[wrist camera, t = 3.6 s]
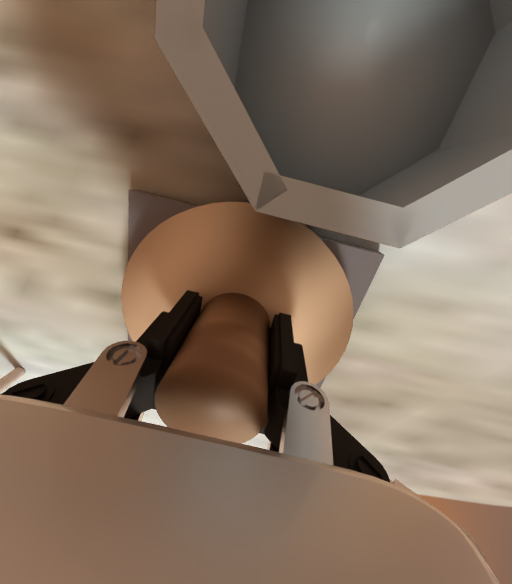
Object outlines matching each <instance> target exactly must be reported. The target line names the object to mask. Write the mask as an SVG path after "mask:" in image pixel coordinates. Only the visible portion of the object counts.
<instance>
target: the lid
mask: <svg viewBox="0 0 512 584" xmlns="http://www.w3.org/2000/svg"><path fill="white" fill-rule="evenodd" d="M187 290H190V291H194V292H198V293H199V296H202V305H201V311H200V314H199V316H198V317H197V319H196V321H195V323H194V324H193V326H192V328H191V330H190V331H189V333H188V335H187V337H186V338H185V340H184V342H183V344H182V345H181V347H180V349H179V351H178V352H177V354H176V356H175V358H174V359H173V361H172V363H171V365H170V366H169V368H168V370H167V371H166V373H165V375H164V377H163V378H162V380H161V382H160V384H159V385H158V387H157V390H156V392H155V407H156V410H157V413H158V415H159V416H160V418H161V419H162V421H163V422H164V423H165V424H166V425H167V427H169V428H173V429H178V430H182V431H187V432H191V433H196V434H200V435H205V436H209V437H213V438H218V439H222V440H227V441H231V442H236V443H240V444H241V443H244V442H246V441H248V440H250V439H252V438H253V437H255V436H256V435H257V434H258V433H259V432H260V431H261V430H262V428H263V427H264V425H265V423H266V419H267V404H268V373H269V345H270V328H271V325H272V321H273V318H274V315H275V314H276V315H279V313H284V314H288V315H291V320H292V328H293V337H294V343H298V344H301V345H302V347H303V352H304V358H305V364H306V370H307V376H308V382H309V383H312V384H314V385H316V384H317V383H319V382H320V381H321V380H322V379H323V378H325V377H326V376H327V375H328V374H329V373H330V372H331V370H332V369H333V368H334V367H335V365H336V364H337V363H338V361H339V360H340V358H341V356H342V355H343V353H344V351H345V349H346V346H347V344H348V342H349V339H350V335H351V331H352V326H353V314H354V312H353V299H352V294H351V290H350V286H349V283H348V280H347V278H346V276H345V273H344V271H343V269H342V267H341V265H340V264H339V262H338V260H337V259H336V257H335V256H334V254H333V253H332V252H331V251H330V249H329V248H328V247H327V246H326V245H325V243H324V242H323V241H322V240H321V238H319V237H318V236H317V235H316V234H315V233H314V232H313V231H312V230H311V229H310V228H309V227H307V226H306V225H304V224H303V223H299V222H295V221H291V220H287V219H284V218H280V217H276V216H272V215H268V214H264V213H260V212H256V211H255V210H254V208H253V207H252V205H251V203H249V202H235V201H227V202H216V203H210V204H206V205H202V206H198V207H195V208H191V209H189V210H186V211H184V212H181V213H179V214H177V215H174V216H172V217H171V218H169V219H167V220H166V221H164V222H162V223H161V224H159V225H158V226H157V227H156V228H155V229H153V230H152V231H151V232H150V233H149V234H148V235H147V236H146V237H145V238H144V239H143V240H142V242H141V243H140V244H139V245H138V246H137V248H136V250H135V251H134V253H133V255H132V256H131V258H130V260H129V263H128V265H127V268H126V270H125V274H124V279H123V283H122V295H121V300H122V311H123V316H124V320H125V324H126V327H127V329H128V332H129V335H130V337H131V339H132V341H135V342H136V341H137V340H138V339H139V337H140V336H141V335H142V334H143V333H144V332H145V330H146V329H147V328H148V327H149V326H150V325H151V324H152V322H153V321H154V320H155V319H156V318H157V317H158V316H159V314H160V313H161V312H163V311H165V312H170V311H171V309H172V308H173V307H174V306H175V305H176V303H177V302H178V301H179V300H180V298H181V297H182V296H183V295H184V293H185V292H186V291H187Z"/></svg>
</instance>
